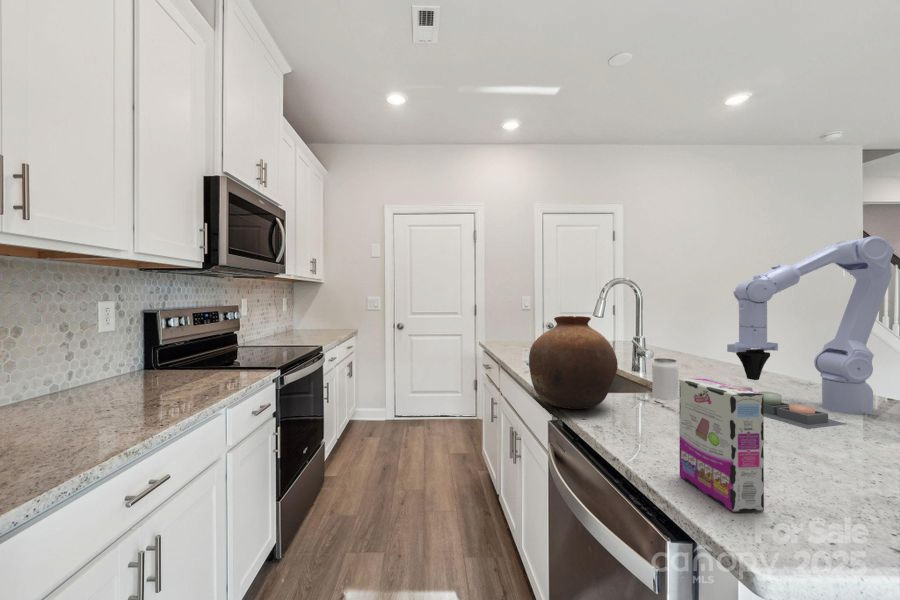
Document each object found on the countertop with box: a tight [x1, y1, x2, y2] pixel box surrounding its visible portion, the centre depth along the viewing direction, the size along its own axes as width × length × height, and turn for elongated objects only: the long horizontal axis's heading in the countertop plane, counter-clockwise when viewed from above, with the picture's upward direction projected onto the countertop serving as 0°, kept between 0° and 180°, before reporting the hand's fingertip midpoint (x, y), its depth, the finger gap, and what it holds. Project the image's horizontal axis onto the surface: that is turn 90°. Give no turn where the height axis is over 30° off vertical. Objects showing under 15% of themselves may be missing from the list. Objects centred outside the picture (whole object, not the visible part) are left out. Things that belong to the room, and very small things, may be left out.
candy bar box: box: [678, 378, 765, 513], centre depth 58 cm, size 11×5×16 cm, turn 5°
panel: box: [763, 402, 847, 430], centre depth 94 cm, size 12×24×4 cm, turn 14°
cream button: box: [733, 385, 753, 391], centre depth 101 cm, size 4×4×2 cm
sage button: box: [757, 391, 783, 406], centre depth 94 cm, size 4×4×2 cm
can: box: [651, 357, 680, 405], centre depth 108 cm, size 6×6×12 cm
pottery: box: [528, 315, 619, 410], centre depth 104 cm, size 23×23×25 cm
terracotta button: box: [789, 403, 816, 415], centre depth 87 cm, size 4×4×2 cm
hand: (752, 379), depth 98 cm, fingers closed
